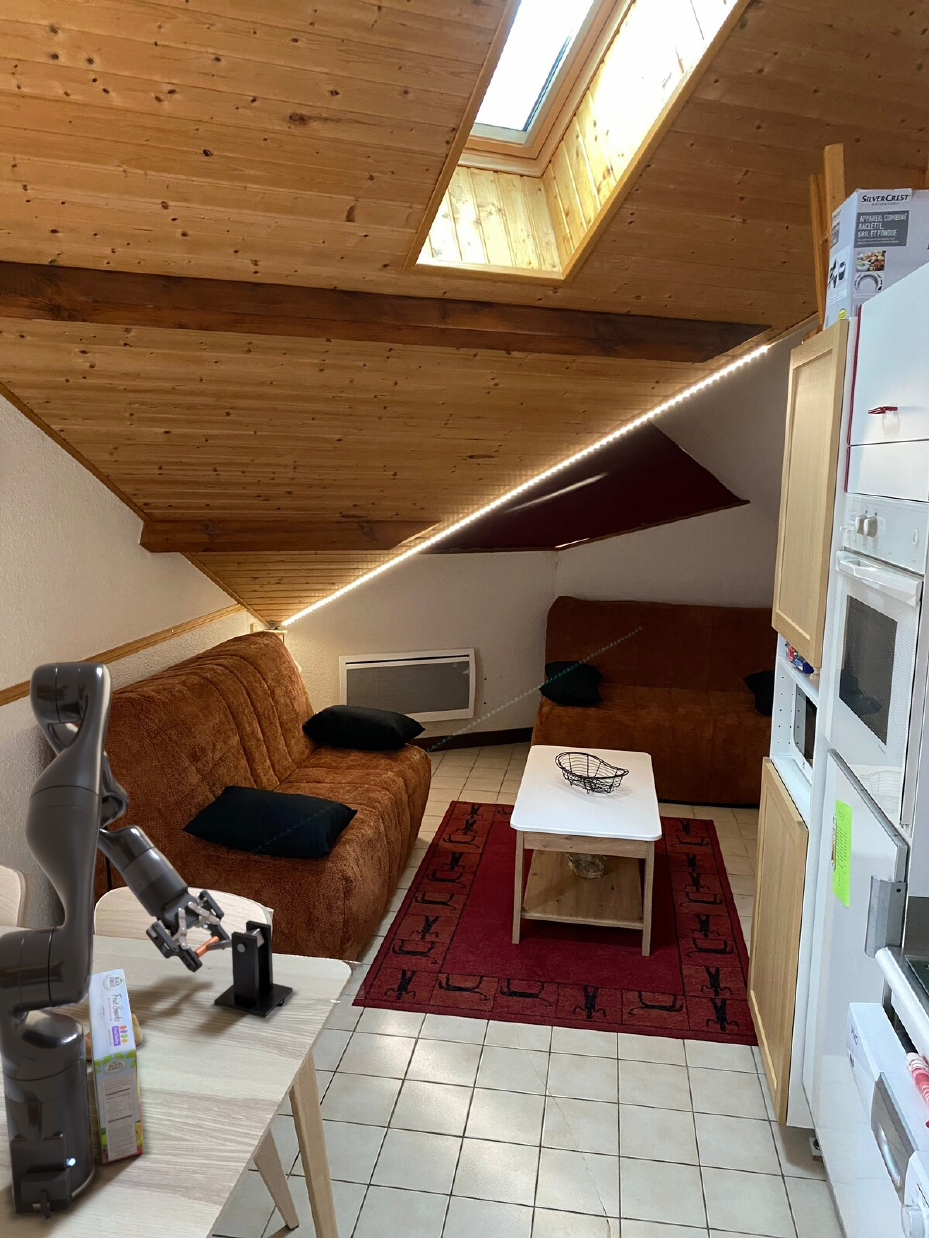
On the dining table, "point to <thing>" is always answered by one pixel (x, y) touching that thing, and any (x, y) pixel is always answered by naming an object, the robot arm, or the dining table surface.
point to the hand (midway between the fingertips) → (213, 957)
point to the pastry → (137, 1037)
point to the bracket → (253, 974)
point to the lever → (224, 943)
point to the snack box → (114, 1067)
